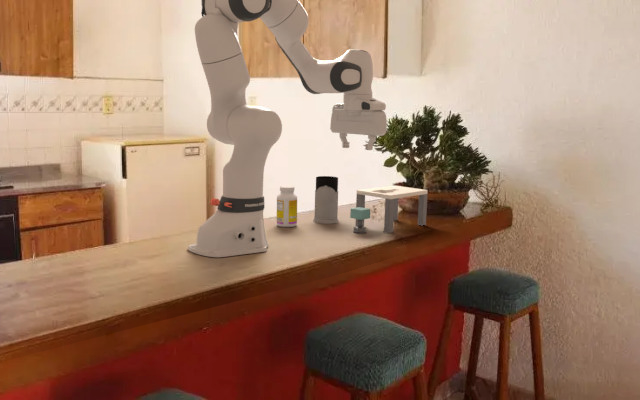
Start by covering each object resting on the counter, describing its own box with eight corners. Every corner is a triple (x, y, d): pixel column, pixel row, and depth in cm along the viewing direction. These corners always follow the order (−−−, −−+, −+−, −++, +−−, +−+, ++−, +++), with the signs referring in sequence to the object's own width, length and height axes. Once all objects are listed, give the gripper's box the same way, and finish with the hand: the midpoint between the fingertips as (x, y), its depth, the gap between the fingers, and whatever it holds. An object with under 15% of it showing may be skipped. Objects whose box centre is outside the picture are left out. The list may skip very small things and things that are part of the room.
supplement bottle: (298, 224, 219) (298, 185, 217) (295, 228, 213) (296, 188, 211) (278, 223, 220) (278, 184, 218) (274, 227, 213) (275, 187, 211)
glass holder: (311, 222, 222) (312, 178, 220) (316, 215, 236) (318, 173, 234) (337, 224, 221) (338, 179, 219) (341, 216, 235) (342, 174, 233)
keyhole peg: (360, 234, 206) (361, 210, 205) (349, 231, 209) (350, 208, 208) (369, 232, 209) (370, 208, 208) (358, 230, 212) (359, 207, 211)
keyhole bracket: (388, 233, 209) (390, 195, 207) (355, 226, 218) (356, 190, 216) (425, 225, 223) (427, 190, 221) (392, 219, 232) (394, 185, 230)
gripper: (326, 103, 207) (325, 147, 210) (376, 105, 193) (376, 152, 196) (339, 102, 212) (339, 145, 214) (390, 104, 198) (389, 150, 200)
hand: (357, 148), depth 205 cm, fingers open, 8 cm apart
